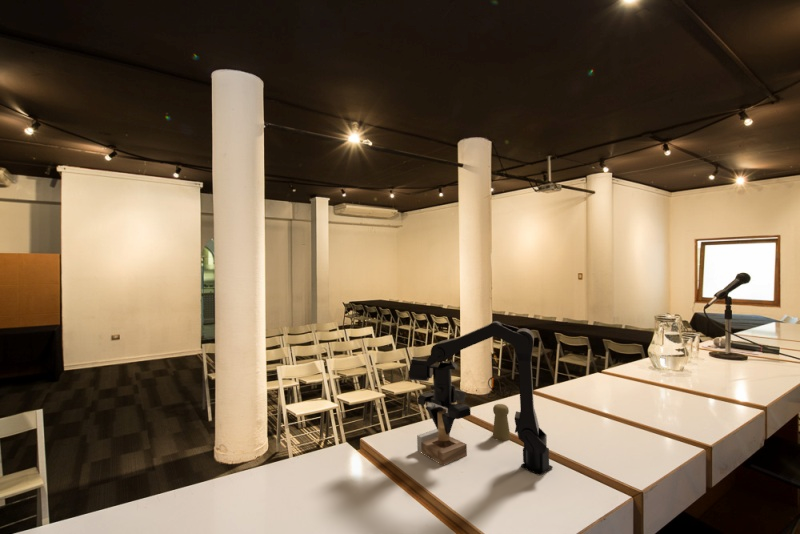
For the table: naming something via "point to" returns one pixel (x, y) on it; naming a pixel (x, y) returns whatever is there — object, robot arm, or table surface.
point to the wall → (426, 437)
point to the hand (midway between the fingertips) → (443, 432)
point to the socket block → (444, 449)
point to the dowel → (442, 428)
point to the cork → (501, 423)
